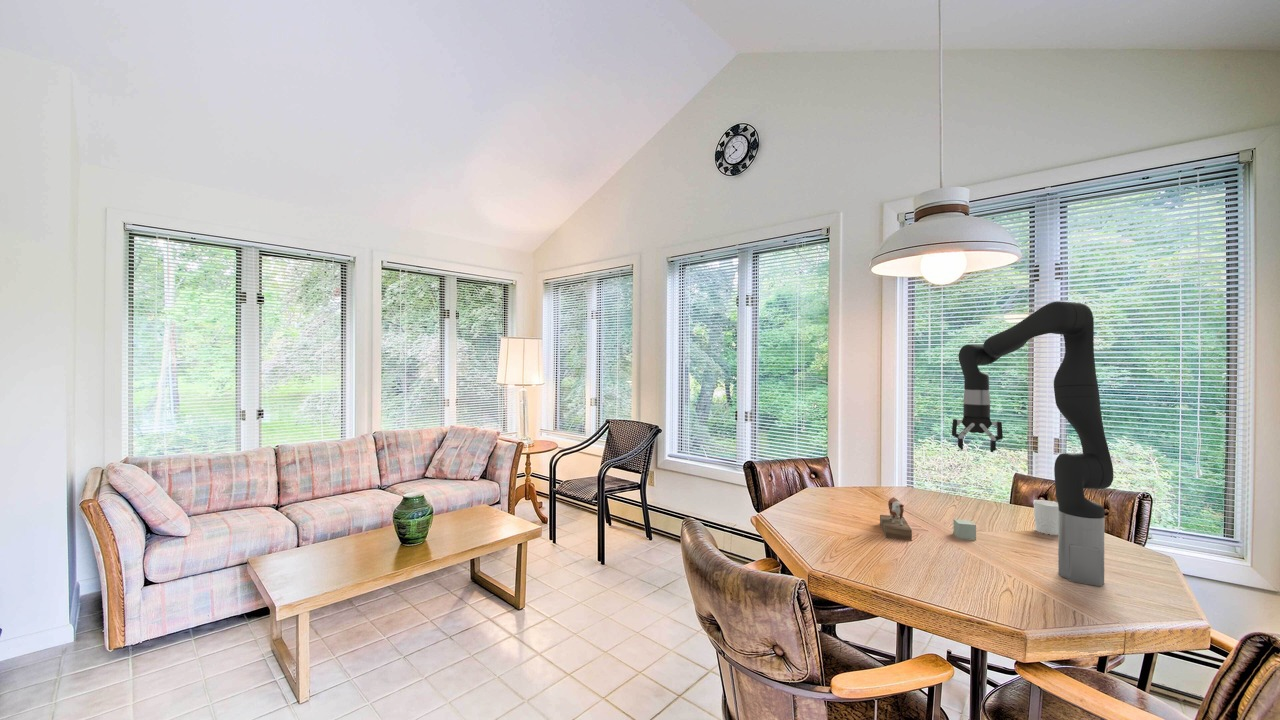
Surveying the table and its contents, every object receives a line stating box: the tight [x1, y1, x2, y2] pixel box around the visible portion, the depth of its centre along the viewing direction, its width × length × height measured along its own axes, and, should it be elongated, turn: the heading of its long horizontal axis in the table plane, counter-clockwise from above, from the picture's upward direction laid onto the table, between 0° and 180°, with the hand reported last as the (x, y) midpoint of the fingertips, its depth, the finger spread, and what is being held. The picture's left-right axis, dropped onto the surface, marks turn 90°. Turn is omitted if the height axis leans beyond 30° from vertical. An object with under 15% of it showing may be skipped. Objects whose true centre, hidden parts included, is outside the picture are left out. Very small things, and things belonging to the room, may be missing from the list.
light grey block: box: [1033, 499, 1059, 536], centre depth 170 cm, size 8×8×10 cm
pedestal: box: [879, 514, 913, 542], centre depth 168 cm, size 15×8×4 cm, turn 161°
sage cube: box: [952, 518, 977, 541], centre depth 164 cm, size 5×5×5 cm
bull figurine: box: [887, 496, 905, 526], centre depth 168 cm, size 4×13×8 cm, turn 156°
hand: (976, 450), depth 169 cm, fingers open, 8 cm apart
